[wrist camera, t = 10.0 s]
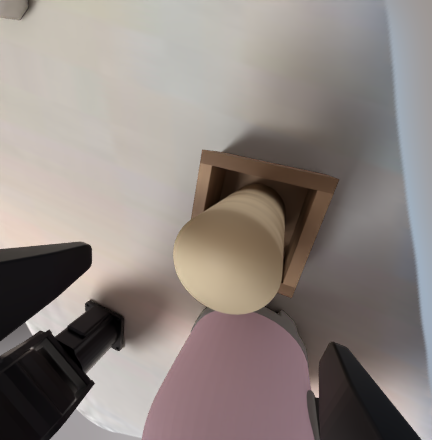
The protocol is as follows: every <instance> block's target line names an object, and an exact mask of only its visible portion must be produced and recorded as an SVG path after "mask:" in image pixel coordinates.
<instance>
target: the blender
mask: <svg viewBox="0 0 432 440" xmlns="http://www.w3.org/2000/svg"><path fill="white" fill-rule="evenodd" d="M142 440H321V437H320V420H319V398H315V395H314V393H313V392H312V391H311V386H310V379H309V366H308V357H307V352H306V348H305V345H304V343H303V341H302V339H301V338H300V336H299V334H298V332H297V328H296V324H295V323H294V321H293V320H292V319H291V318H290V317H289V316H288V315H287V314H286V313H285V312H284V311H282V310H281V311H280V312H279V313H278V314H277V313H275V312H273V311H272V310H270V309H268V308H266V307H263V308H261V309H259V310H257V311H254V312H252V313H247V314H239V315H236V314H226V313H221V312H218V311H215V310H213V309H210V308H206V309H204V310H203V311H202V313H201V314H200V315H199V317H198V318H197V320H196V322H195V324H194V326H193V328H192V330H191V333H190V335H189V337H188V339H187V340H186V342H185V344H184V346H183V347H182V349H181V351H180V353H179V354H178V356H177V358H176V360H175V361H174V363H173V365H172V367H171V369H170V370H169V372H168V374H167V376H166V378H165V379H164V381H163V383H162V385H161V387H160V389H159V391H158V393H157V394H156V396H155V398H154V401H153V403H152V405H151V408H150V410H149V413H148V416H147V419H146V423H145V426H144V430H143V435H142Z"/></svg>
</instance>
